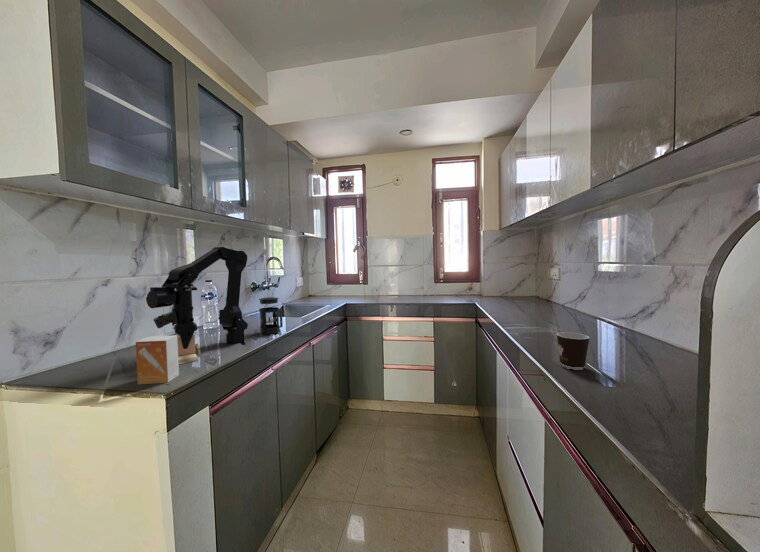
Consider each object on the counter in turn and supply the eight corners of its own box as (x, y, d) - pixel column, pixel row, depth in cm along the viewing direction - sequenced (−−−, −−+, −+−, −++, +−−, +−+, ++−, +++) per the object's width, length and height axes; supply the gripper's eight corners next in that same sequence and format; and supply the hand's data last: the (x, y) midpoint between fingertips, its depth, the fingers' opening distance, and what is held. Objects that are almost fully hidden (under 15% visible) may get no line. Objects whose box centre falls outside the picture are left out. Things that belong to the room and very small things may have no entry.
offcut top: (195, 357, 109) (195, 353, 109) (197, 360, 105) (197, 356, 105) (176, 361, 105) (176, 356, 105) (178, 364, 102) (178, 359, 102)
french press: (254, 334, 145) (252, 286, 144) (265, 330, 154) (264, 285, 153) (276, 335, 143) (275, 286, 142) (286, 331, 152) (285, 285, 151)
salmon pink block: (194, 357, 112) (193, 333, 111) (195, 359, 109) (194, 334, 109) (175, 361, 108) (173, 335, 108) (175, 363, 106) (174, 337, 105)
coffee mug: (589, 374, 90) (590, 340, 89) (555, 369, 94) (556, 337, 94) (587, 362, 99) (588, 332, 99) (557, 358, 104) (557, 329, 104)
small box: (137, 387, 86) (134, 341, 85) (150, 378, 92) (148, 336, 91) (168, 385, 87) (166, 340, 86) (179, 376, 93) (177, 334, 92)
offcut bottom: (196, 361, 109) (196, 357, 109) (198, 365, 105) (198, 360, 105) (175, 365, 105) (175, 361, 105) (176, 369, 101) (176, 365, 101)
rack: (197, 353, 117) (197, 343, 116) (200, 358, 110) (200, 347, 110) (169, 358, 111) (168, 347, 111) (170, 364, 105) (170, 352, 104)
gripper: (154, 303, 110) (156, 346, 111) (154, 309, 95) (157, 358, 96) (190, 300, 117) (192, 341, 118) (196, 306, 102) (198, 352, 103)
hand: (184, 347), depth 109 cm, fingers closed on salmon pink block, 3 cm apart
